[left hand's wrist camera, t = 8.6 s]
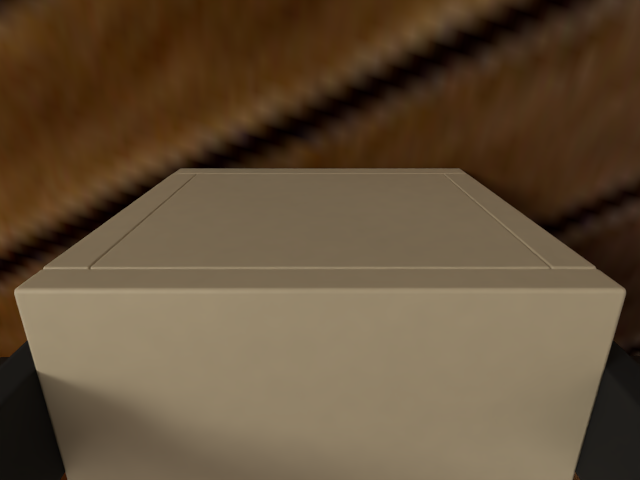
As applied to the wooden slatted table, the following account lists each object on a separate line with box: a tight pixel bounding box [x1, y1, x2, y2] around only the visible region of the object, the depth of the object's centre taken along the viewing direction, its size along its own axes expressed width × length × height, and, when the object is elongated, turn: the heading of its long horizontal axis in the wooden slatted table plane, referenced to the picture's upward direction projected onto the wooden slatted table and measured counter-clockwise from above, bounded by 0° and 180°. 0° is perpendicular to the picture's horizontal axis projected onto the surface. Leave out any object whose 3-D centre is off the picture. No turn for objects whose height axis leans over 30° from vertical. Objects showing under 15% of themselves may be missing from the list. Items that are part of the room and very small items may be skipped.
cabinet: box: [14, 169, 626, 480], centre depth 16 cm, size 17×11×10 cm, turn 0°
